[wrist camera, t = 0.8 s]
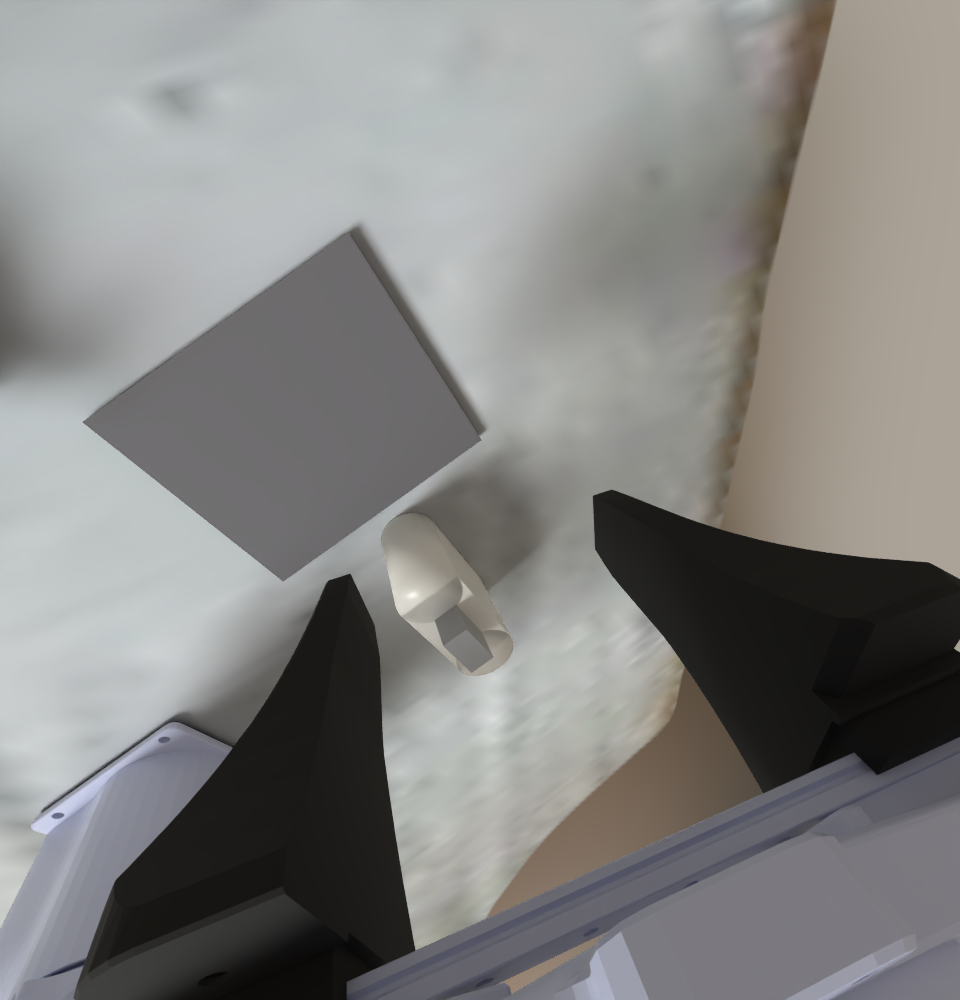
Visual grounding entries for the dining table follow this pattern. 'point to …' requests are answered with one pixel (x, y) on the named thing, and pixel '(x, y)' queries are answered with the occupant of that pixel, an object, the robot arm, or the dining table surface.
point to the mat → (294, 414)
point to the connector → (443, 595)
